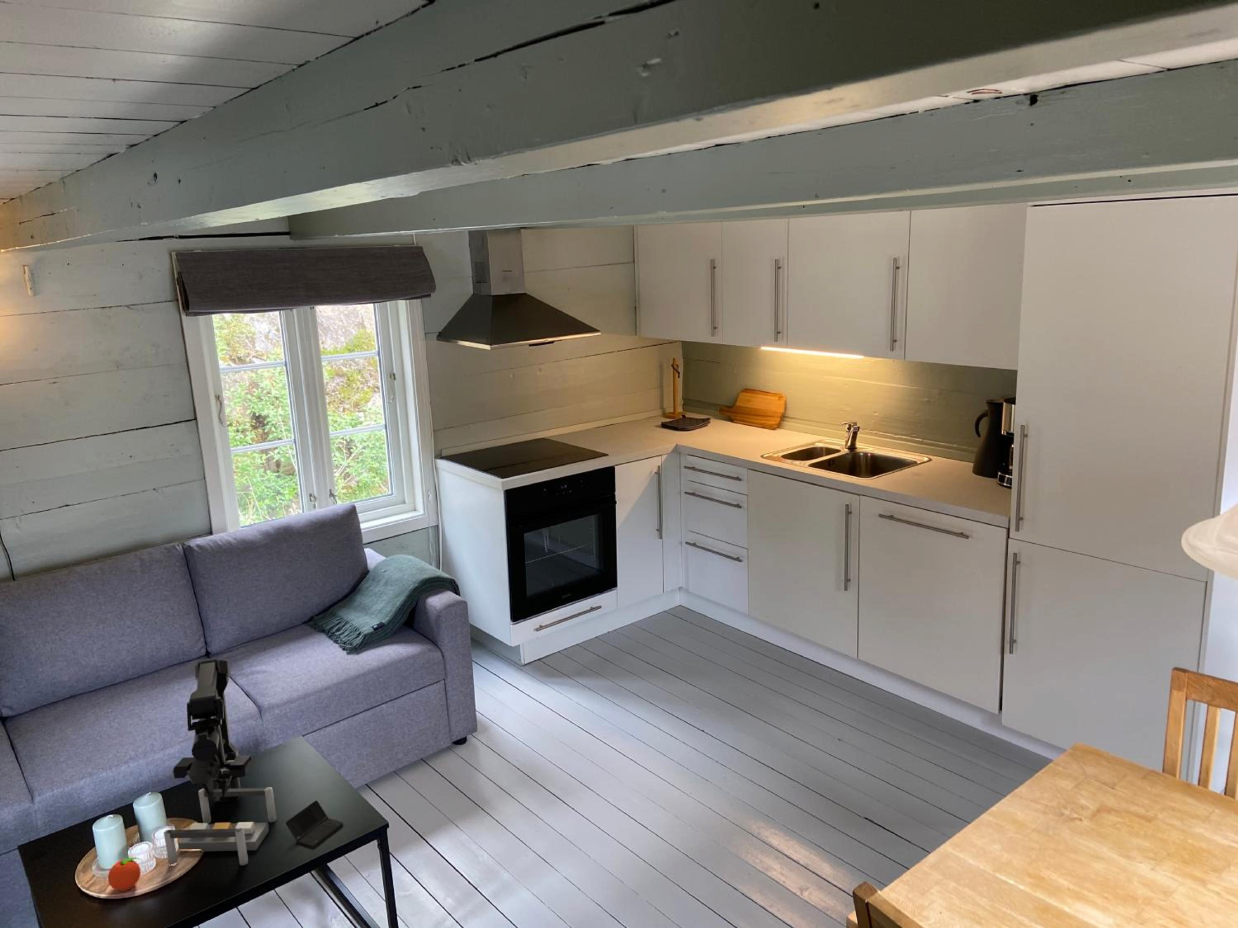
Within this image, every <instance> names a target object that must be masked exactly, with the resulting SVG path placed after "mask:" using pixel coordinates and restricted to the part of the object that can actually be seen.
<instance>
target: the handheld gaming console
mask: <svg viewBox="0 0 1238 928" xmlns="http://www.w3.org/2000/svg"><path fill="white" fill-rule="evenodd" d="M285 825H286V826H287V829H288V830H289V831H290V833H291V835H292V836H293V838H294V839H295V840H296V844H299V845H302V846H304V847H307V848H310V849H315V848H316V847H318V846H319V845H320V844H322V843H323V842H324V841H326V839H328V838H330V836H331V835H333V834H335V833H336V832H338V830H340V828H343V826H344V822H343V821H338V820H335V819H332V818H329V816H327V814H326V812H325V811H324V809H323V807H322V806H321V804H320V803H319V801H318V800H314V801H313V802H311V803H310V804H309V805H307V806H306V807H305V808H303V809H302V810H301V811H299V812H298V813H296V814H295V815H293V816H292V817H290V818H289V819H288V820H287V821H286V822H285Z"/></svg>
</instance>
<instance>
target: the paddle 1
mask: <svg viewBox="0 0 1238 928" xmlns="http://www.w3.org/2000/svg"><path fill="white" fill-rule="evenodd" d="M208 824H209V823H203V822H199V823H198V822H197V823H194V822H193V823H192V824H191V826H190V828H189V829H190V830H192V829H210V827H209V825H208Z"/></svg>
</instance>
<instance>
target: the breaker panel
mask: <svg viewBox="0 0 1238 928" xmlns="http://www.w3.org/2000/svg"><path fill="white" fill-rule="evenodd" d="M253 823H254V826H255V829H254V832H253V833H252V834H244V836H245V842H246V849H247V851H256V850H258V848H259V847H260V846H261V843H262V842H263V841H264V839H265V837H266V836H267V835H268V834H269V832H270V829H269V823H268V822H253ZM237 824H238V822H237V823H231V825H232V829H235V828H236V826H237ZM208 825H209V827H210V829H213V827H214V825H215V823H208ZM188 830H190V828H189V829H188ZM177 845H178V850H179V849H201V850H203V851H202V852H225V851H227V852H229V851H230V852H231V851H233V852H236V851H237V852H238V849H237V842H236V837H209V838H180V840H179V842H178V843H177Z"/></svg>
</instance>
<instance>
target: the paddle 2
mask: <svg viewBox="0 0 1238 928" xmlns="http://www.w3.org/2000/svg"><path fill="white" fill-rule="evenodd" d="M237 823H238V824H237V826H236V828H243V829H244V834H252V833H253V832H254V829H255V826H254V823H255V822H254V821H246V822H245V821H244V822H243V821H242V822H241V821H239V822H237ZM236 828H235V829H236Z"/></svg>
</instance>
